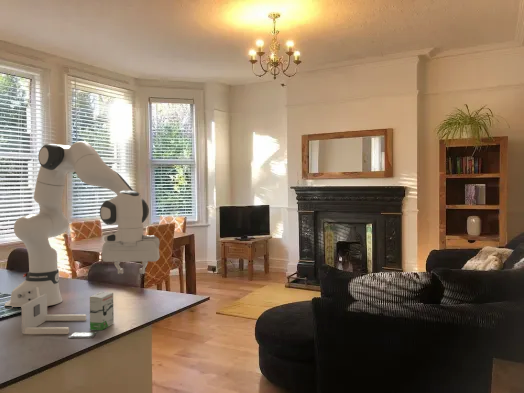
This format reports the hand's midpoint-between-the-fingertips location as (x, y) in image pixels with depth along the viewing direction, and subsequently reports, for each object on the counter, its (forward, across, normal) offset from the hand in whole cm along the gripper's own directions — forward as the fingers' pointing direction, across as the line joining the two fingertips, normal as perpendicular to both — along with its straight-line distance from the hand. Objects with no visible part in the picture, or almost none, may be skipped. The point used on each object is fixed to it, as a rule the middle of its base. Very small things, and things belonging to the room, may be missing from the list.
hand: (131, 273), depth 166 cm
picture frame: (+20, +14, +10) cm, 26 cm away
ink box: (+20, +11, 0) cm, 22 cm away
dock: (+19, +28, 0) cm, 34 cm away
